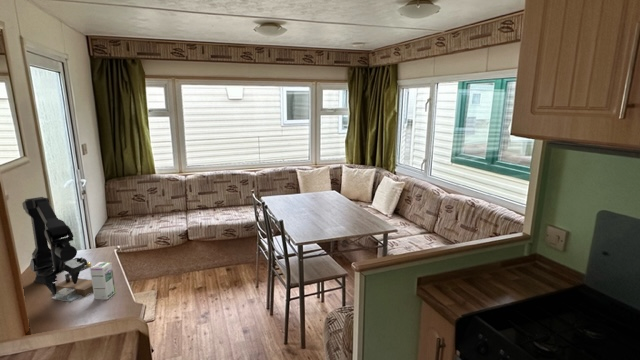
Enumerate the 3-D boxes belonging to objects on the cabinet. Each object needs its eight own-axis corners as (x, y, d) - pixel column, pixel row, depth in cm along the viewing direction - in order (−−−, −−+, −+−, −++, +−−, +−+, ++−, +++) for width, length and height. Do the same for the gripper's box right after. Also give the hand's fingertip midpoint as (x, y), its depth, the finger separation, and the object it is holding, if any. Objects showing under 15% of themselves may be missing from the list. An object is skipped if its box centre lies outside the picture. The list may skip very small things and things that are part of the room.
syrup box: (107, 299, 146) (103, 267, 143) (93, 299, 146) (89, 267, 143) (115, 292, 151) (112, 261, 149) (102, 292, 151) (98, 261, 149)
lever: (67, 282, 153) (66, 273, 152) (64, 282, 154) (63, 272, 153) (93, 271, 164) (91, 262, 163) (89, 271, 165) (88, 261, 164)
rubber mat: (51, 298, 146) (51, 297, 146) (62, 293, 151) (62, 292, 151) (70, 301, 144) (70, 300, 144) (81, 295, 149) (81, 295, 149)
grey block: (55, 298, 146) (54, 292, 145) (65, 293, 150) (64, 287, 150) (67, 300, 145) (66, 294, 144) (76, 294, 149) (76, 289, 148)
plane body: (55, 291, 152) (54, 285, 151) (71, 283, 160) (70, 277, 159) (85, 296, 148) (84, 289, 148) (100, 287, 156) (100, 281, 155)
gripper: (54, 265, 133) (59, 302, 136) (95, 247, 151) (99, 280, 154) (31, 262, 135) (37, 299, 138) (74, 245, 153) (78, 278, 156)
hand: (65, 288), depth 147 cm, fingers open, 9 cm apart
